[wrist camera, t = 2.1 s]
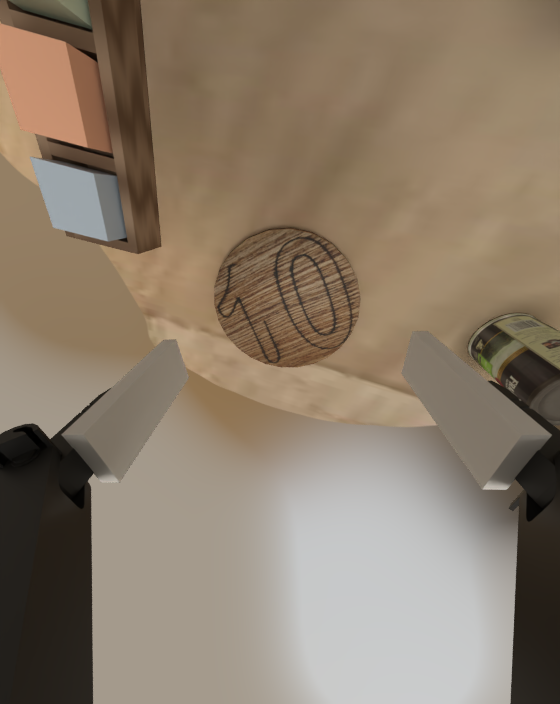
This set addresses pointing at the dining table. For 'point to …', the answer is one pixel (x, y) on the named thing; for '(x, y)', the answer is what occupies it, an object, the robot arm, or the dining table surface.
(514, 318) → the coffee can
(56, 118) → the terracotta button
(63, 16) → the sage button
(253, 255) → the trivet
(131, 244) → the button console
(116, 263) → the dining table surface
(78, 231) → the slate button
